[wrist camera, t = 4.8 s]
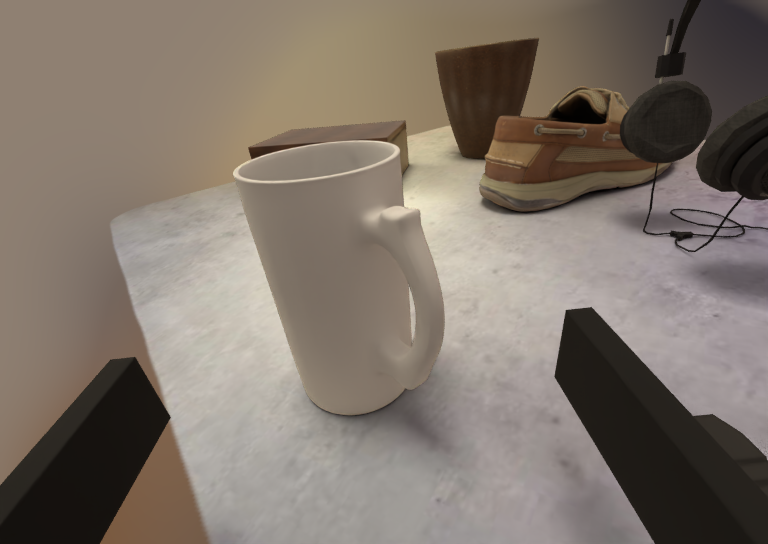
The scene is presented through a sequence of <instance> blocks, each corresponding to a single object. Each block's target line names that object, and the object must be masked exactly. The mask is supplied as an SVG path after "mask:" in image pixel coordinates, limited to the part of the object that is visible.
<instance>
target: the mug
mask: <svg viewBox="0 0 768 544" xmlns="http://www.w3.org/2000/svg"><path fill="white" fill-rule="evenodd" d="M233 176H234V178H235V181H236V184H237V187H238V191H239V194H240V198H241V201H242V205H243V208H244V211H245V214H246V217H247V220H248V224H249V227H250V230H251V233H252V236H253V239H254V242H255V244H256V247H257V250H258V253H259V256H260V259H261V262H262V265H263V268H264V271H265V274H266V277H267V280H268V283H269V286H270V289H271V292H272V295H273V298H274V301H275V304H276V307H277V310H278V313H279V316H280V319H281V322H282V325H283V328H284V331H285V334H286V337H287V340H288V343H289V346H290V349H291V352H292V355H293V358H294V361H295V364H296V367H297V369H298V372H299V375H300V378H301V380H302V383H303V386H304V389H305V391H306V393H307V395H308V397H309V398H310V399H311V400H312V402H313V403H315V404H316V405H317V406H318V407H320V408H322V409H324V410H326V411H328V412H331V413H335V414H341V415H359V414H365V413H369V412H372V411H375V410H378V409H380V408H382V407H384V406H386V405H388V404H389V403H391V402H392V401H394V400H395V399H396V398H397V397H398V396H399V395H400V394H401V393H402V392H403V391H404V390H405V388H406V389H408V390H413V389H415V388H417V387H418V386H419V385H421V384H422V383H423V382H425V381H426V380H427V379H428V377H429V375H430V372H431V370H432V368H433V365H434V363H435V361H436V359H437V357H438V354H439V352H440V349H441V346H442V342H443V336H444V326H445V315H444V304H443V297H442V292H441V287H440V283H439V279H438V275H437V271H436V268H435V265H434V262H433V259H432V256H431V253H430V250H429V247H428V244H427V242H426V239H425V236H424V233H423V230H422V226H421V219H420V211H419V209H416V208H406V207H404V198H403V184H402V173H401V164H400V149H399V147H398V146H396V145H394V144H391V143H387V142H381V141H366V140H359V141H339V142H328V143H320V144H313V145H306V146H301V147H295V148H290V149H286V150H281V151H277V152H273V153H270V154H266V155H263V156H260V157H257V158H255V159H252V160H250V161H248V162H246V163H244V164H242V165H240V166H239V167H237V168H236V169H235V170H234V173H233ZM408 284H409V285H408ZM409 287H410V289H411V292H412V296H413V300H414V304H415V312H416V327H415V335H414V340H413V343H412V334H411V318H410V302H409Z"/></svg>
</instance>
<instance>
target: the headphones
mask: <svg viewBox="0 0 768 544" xmlns="http://www.w3.org/2000/svg"><path fill="white" fill-rule="evenodd" d="M700 1H701V0H688V1H687V3H686V5H685V8H684V10H683V13H682V16H681V18H680V21H679V24H678V27H677V31H676V34H675V38H674V41H673V45H672V49H671V52H670V54H668V55H667V53H668V47H669V41H670V36H671V34H672V28H673V21H674V19H670V21H669V25H668V30H667V35H666V36H667V41H666V47H665V53H664V55H662V56H659V57H658V62H657V68H656V75H655V78H660V83H659V85H656V86H655V87H653V88H652V89H650V90H649V91H647V92H645V93H644V94H642V95H641V96H640V97H638V99H637V100H636V101H635V102H634V104H633V105H632V106H631V107H630V108H629V110H628V111H627V112H626V113H625V115H624V116H623V119H622V122H621V124H620V138H621V141H622V144H623V145H624V147H625V148H626V149H627V150H628V151H629V152H631V153H633V154H634V155H635V156H636V157H638V158H640V159H642V160H644V161H646V162H650V163H657V165H656V171H655V176H654V182H653V188H652V193H651V201H650V209H649V214H648V217H647V220H646V223H645V226H644V228H643V232H645V233H646V234H651V235H663V234H670V236H674V237H676V238H677V239H676V240H675V244H676V246H678V247H680V248H682V249H684V250H686V251H688V252H696V251H698V250H699V249H701V248H703V247H704V246H706V245H707V244H708V243H710V242H711V241H712V240H713V238H714V237H724V238H727V237H738V236H740V235H742V234H744V233H745V229H744V227H749V228H761V229H767V230H768V228H763V227H750V226H746V225H740V224H738V223H737V222H735V221H733V220H731V219H728V218H727V217H728V216H729V214H730V213H731V212H732V211H733V209H734V208H735V207H736V206H737V205H738V204H739V202H740V201H741V200H742V199H743V198H744V197H745V198H747V199H750V200H766V199H768V96H765V97H763V98H761V99H759V100H757V101H755V102H753V103H751V104H749V105H747V106H745V107H743V108H742V109H741V110H739V111H738V112H737V113H735V114H734V115H732V116H731V117H730V118H728V119H727V120H726V121H724V122H723V123H721V124H720V125H719V126H718V127H717V128H716V129H715V130H714V131H713V133H712V134H711V135H710V136H709V137H708V138H707V140H706V141H705V143H704V145H703V146H702V148H701V150H700V152H699V153H698V157H697V164H696V169H697V171H698V174H699V176H700V179H701V181H702V182H704V183H706V184H707V185H709V186H711V187H713V188H715V189H717V190H719V191H721V192H733V191H737V192H738V193H739V194H740V195H742V197H741V198H740V199H739V200H738V201H737V203H736V204H735V205H734V206H733V207H732V208H731V210H730V211H729V212H728V214H727V215H726V217H724V216H722V215H719V214H716V213H712V212H707V211H700V210H693V209H673V210H671V212H670V213H671V214H672V215H674V214H673V213H672V211H674V210H690V211H700V212H706V213H710V214H714V215H718V216H721V217H723V218H724V220H723V221H722V223H721V224H720V226H712V225H705V224H697V223H694V222H691V221H687V220H685V219H682V218H680V217H678V216H676V215H674V216H676V217H677V218H679V219H681V220H684V221H687V222H690V223H693V224H697V225H702V226H709V227H716V228H717V230H716V231H715V233H714V234H713V235H701V234H694V233H692V232H676V231H671V232H670V233H661V234H654V233H647V232H646V231H645V227H646V225H647V222H648V219H649V215H650V212H651V209H652V200H653V191H654V186H655V180H656V175H657V169H658V163H670V162H674V161H677V160H680V159H682V158H684V157H686V156H687V155H689V154H691V153H692V152H694V151H695V149H696V148H697V147H698V146H699V145H700V143H701V142H702V141H703V140H704V138H705V136H706V133H707V131H708V128H709V126H710V123H711V116H712V109H711V106H710V103H709V100H708V97H707V96H706V95H705V94H704V93H703V92H702V90H701V89H700V88H699V87H697V86H694V85H693V84H691V83H689V82H687V81H668V82H665V83H663V78H664V77H669V76H676V75H681V74H683V68H684V62H685V57H686V53H685V52H683V53H678V52H679V49H680V47H681V44H682V41H683V38H684V35H685V33H686V30H687V27H688V24H689V22H690V20H691V18H692V16H693V14H694V13H695V10H696V9H697V7H698V5H699V3H700ZM726 219H727V220H729V221H731V222H733V223H735V224H737V225H739V226H734V227H721V226H722V225H723V223H724V222H725V220H726ZM737 227H741V228H742V229H743V233H741V234H739V235H736V236H715V235H716V234H717V232H718V231H719V229H720V228H737ZM693 235H698V236H710V237H711V238H710V239H709V241H708V242H707V243H705V244H704V245H702V246H701V247H699V248H698V249H696V250H695V251H693V250H687V249H685V248H683V247H681V246H679V245H678V244H677V240H679V241H681V240H682V239H684V238H691V237H693Z"/></svg>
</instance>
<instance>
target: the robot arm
mask: <svg viewBox="0 0 768 544" xmlns="http://www.w3.org/2000/svg"><path fill="white" fill-rule="evenodd" d="M555 378H556V380H557V382H558V383H559V385H560V387H561V388H562V390H563V392H564V393H565V395H566V397H567V398H568V400H569V402H570V403H571V405H572V407H573V408H574V410H575V412H576V413H577V415H578V417H579V418H580V420H581V422H582V423H583V425H584V427H585V428H586V430H587V432H588V433H589V435H590V437H591V438H592V440H593V442H594V443H595V445H596V447H597V448H598V450H599V451H600V453H601V455H602V456H603V458H604V460H605V461H606V463H607V465H608V466H609V468H610V470H611V471H612V473H613V475H614V476H615V478H616V480H617V481H618V483H619V485H620V486H621V488H622V490H623V491H624V493H625V495H626V496H627V498H628V500H629V501H630V503H631V505H632V506H633V508H634V510H635V511H636V513H637V515H638V516H639V518H640V520H641V521H642V523H643V525H644V526H645V528H646V530H647V531H648V533H649V535H650V536H651V538H652V540H653V541H654V543H655V544H768V460H767V459H766V456H765V455H764V454H763V453H762V452H761V451H760V450H759V449H758V448H757V447H756V446H755V445H754V444H753V443H752V442H751V441H750V440H749V439H748V438H747V437H746V436H745V435H744V434H742V433H741V432H740V431H738V430H736V429H735V428H733V427H732V426H730V425H729V424H727V423H726V422H724V421H722V420H721V419H719V418H718V417H716V416H715V415H713V414H710V415H700V416H692V415H691V413H690V412H689V411H688V410H687V409H686V408H685V407H684V406H683V405H682V404H681V403H680V402H679V401H678V399H677V398H676V397H675V396H674V395H673V394H672V393H671V392H670V391H669V390H668V389H667V388H666V387H665V386H664V384H663V383H662V382H661V381H660V380H659V379H658V378H657V377H656V376H655V375H654V374H653V373H652V372H651V370H650V369H649V368H648V367H647V366H646V365H645V364H644V363H643V362H642V361H641V360H640V359H639V358H638V357H637V355H636V354H635V353H634V352H633V351H632V350H631V349H630V348H629V347H628V346H627V345H626V344H625V343H624V341H623V340H622V339H621V338H620V337H619V336H618V335H617V334H616V333H615V332H614V331H613V330H612V329H611V328H610V326H609V325H608V324H607V323H606V322H605V321H604V320H603V319H602V318H601V317H600V316H599V315H598V314H597V312H596V311H595V310H594V309H593V308H592V307H590V308H581V309H571V310H566V313H565V319H564V324H563V330H562V336H561V342H560V348H559V354H558V359H557V365H556V371H555ZM170 418H171V417H170V415H169V414H168V412H167V410H166V409H165V407H164V405H163V403H162V402H161V400H160V398H159V397H158V395H157V393H156V392H155V390H154V388H153V387H152V385H151V383H150V381H149V380H148V378H147V376H146V375H145V373H144V371H143V370H142V368H141V366H140V365H139V363H138V361H137V359H136V358H135V357H131V358H122V359H113V360H110V361H109V362H108V363H107V364H106V366H105V367H104V368H103V369H102V370H101V371H100V372H99V374H98V375H97V376H96V377H95V378H94V379H93V380H92V382H91V383H90V384H89V385H88V386H87V387H86V388H85V390H84V391H83V392H82V393H81V394H80V395H79V397H77V399H76V400H75V401H74V402H73V403H72V404H71V405H70V407H69V408H68V409H67V410H66V411H65V412H64V413H63V415H62V416H61V417H60V418H59V419H58V420H57V421H56V423H55V424H54V425H53V426H52V427H51V428H50V430H49V431H48V432H47V433H46V434H45V435H44V436H43V437H42V439H41V440H40V441H39V442H38V443H37V444H36V445H35V446H34V448H33V449H32V450H31V451H30V452H29V453H28V454H27V456H26V457H25V458H24V459H23V460H22V461H21V462H20V464H19V465H18V466H17V467H16V468H15V469H14V470H13V472H12V473H11V474H10V475H9V476H8V477H7V478H6V479H5V481H4V482H3V483H2V484H1V485H0V544H100V542H101V540H102V539H103V537H104V535H105V533H106V532H107V530H108V528H109V526H110V524H111V523H112V521H113V519H114V517H115V516H116V514H117V512H118V510H119V508H120V507H121V505H122V503H123V501H124V500H125V498H126V496H127V494H128V492H129V491H130V489H131V487H132V485H133V483H134V482H135V480H136V478H137V476H138V474H139V473H140V471H141V469H142V467H143V466H144V464H145V462H146V460H147V459H148V457H149V455H150V453H151V452H152V450H153V448H154V446H155V444H156V443H157V441H158V439H159V437H160V435H161V434H162V432H163V430H164V428H165V427H166V425H167V423H168V421H169V420H170Z"/></svg>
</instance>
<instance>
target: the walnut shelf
mask: <svg viewBox="0 0 768 544" xmlns="http://www.w3.org/2000/svg"><path fill="white" fill-rule="evenodd" d="M359 140H366V141H381V142H387V143H391V144H394V145H396V146H398V147H399V149H400V164H401V173H402V174H403V173H404V171H405V170H406V168H407V167H408V165H409V162H408V147H407V133H406V121H405V120H404V121H392V122H380V123H368V124H355V125H343V126H331V127H319V128H307V129H295V130H290V131H287V132H285V133H282V134H280V135H277V136H275V137H272V138H270V139H268V140H265V141H263V142H260V143H258V144H256V145H253V146H251V147H249V152H250V156H251V159H255V158H257V157H260V156H263V155H266V154H270V153H273V152H277V151H281V150H286V149H290V148H295V147H301V146H306V145H313V144H320V143H328V142H339V141H359Z"/></svg>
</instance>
